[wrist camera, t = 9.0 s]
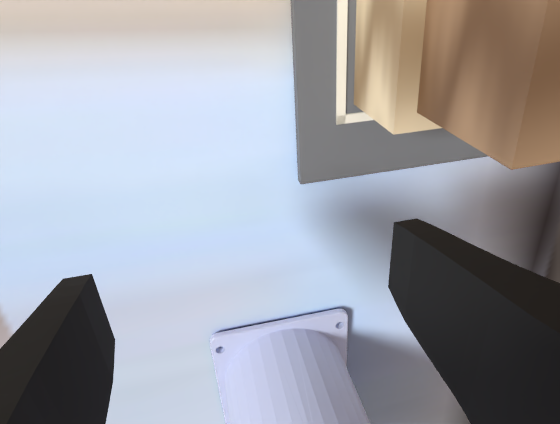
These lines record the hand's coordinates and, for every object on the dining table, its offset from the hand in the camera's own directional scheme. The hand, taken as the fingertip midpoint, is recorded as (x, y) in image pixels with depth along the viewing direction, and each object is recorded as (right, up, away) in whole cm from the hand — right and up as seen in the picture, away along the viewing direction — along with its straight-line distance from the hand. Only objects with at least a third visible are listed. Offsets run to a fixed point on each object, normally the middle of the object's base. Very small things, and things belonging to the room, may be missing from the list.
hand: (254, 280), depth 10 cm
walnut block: (+7, +7, +4) cm, 11 cm away
